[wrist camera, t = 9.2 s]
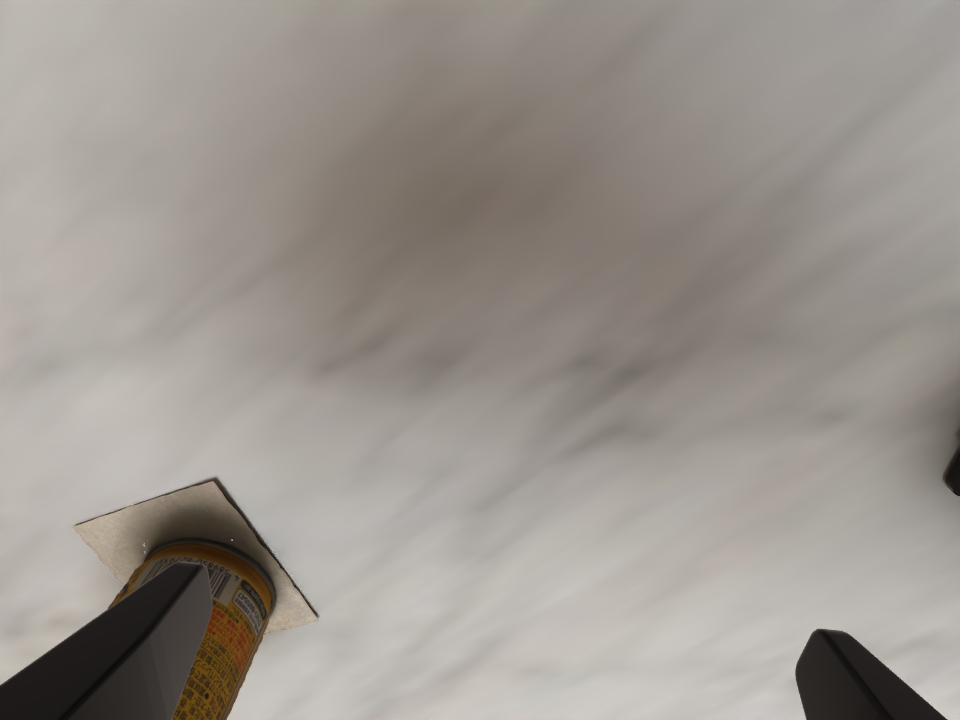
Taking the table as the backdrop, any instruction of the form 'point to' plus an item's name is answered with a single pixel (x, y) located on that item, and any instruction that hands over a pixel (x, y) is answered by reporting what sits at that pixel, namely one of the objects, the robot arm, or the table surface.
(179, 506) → the condiment
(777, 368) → the table surface
